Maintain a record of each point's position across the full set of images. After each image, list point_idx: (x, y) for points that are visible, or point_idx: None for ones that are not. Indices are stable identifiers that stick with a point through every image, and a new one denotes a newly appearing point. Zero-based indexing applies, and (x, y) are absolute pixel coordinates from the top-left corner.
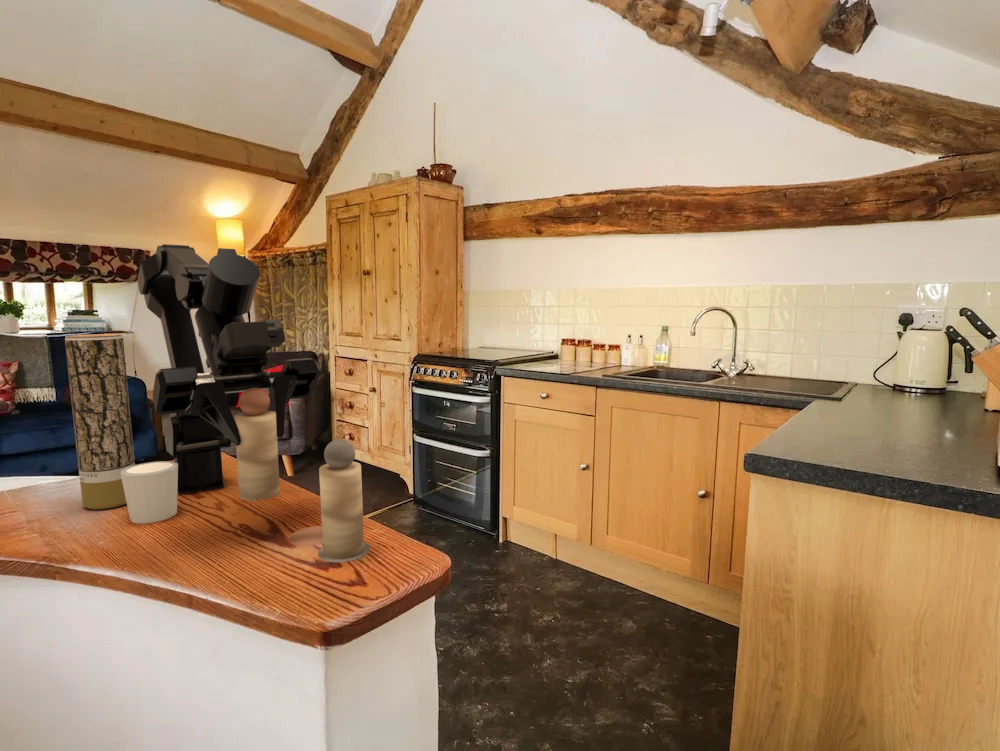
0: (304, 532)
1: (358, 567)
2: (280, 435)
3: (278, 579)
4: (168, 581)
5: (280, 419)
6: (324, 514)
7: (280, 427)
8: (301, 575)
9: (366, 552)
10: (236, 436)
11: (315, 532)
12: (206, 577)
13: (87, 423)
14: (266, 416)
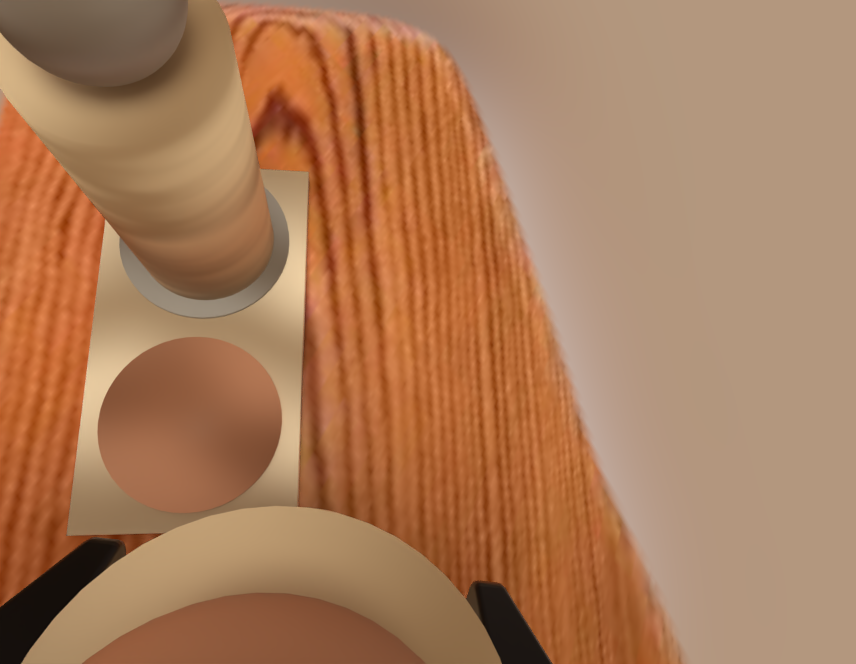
0: (196, 473)
1: None
2: (123, 552)
3: (409, 288)
4: (622, 517)
5: (3, 648)
6: (257, 171)
7: (77, 584)
8: (356, 260)
9: None
10: (510, 608)
11: (170, 441)
12: (540, 457)
13: None
14: (242, 522)
